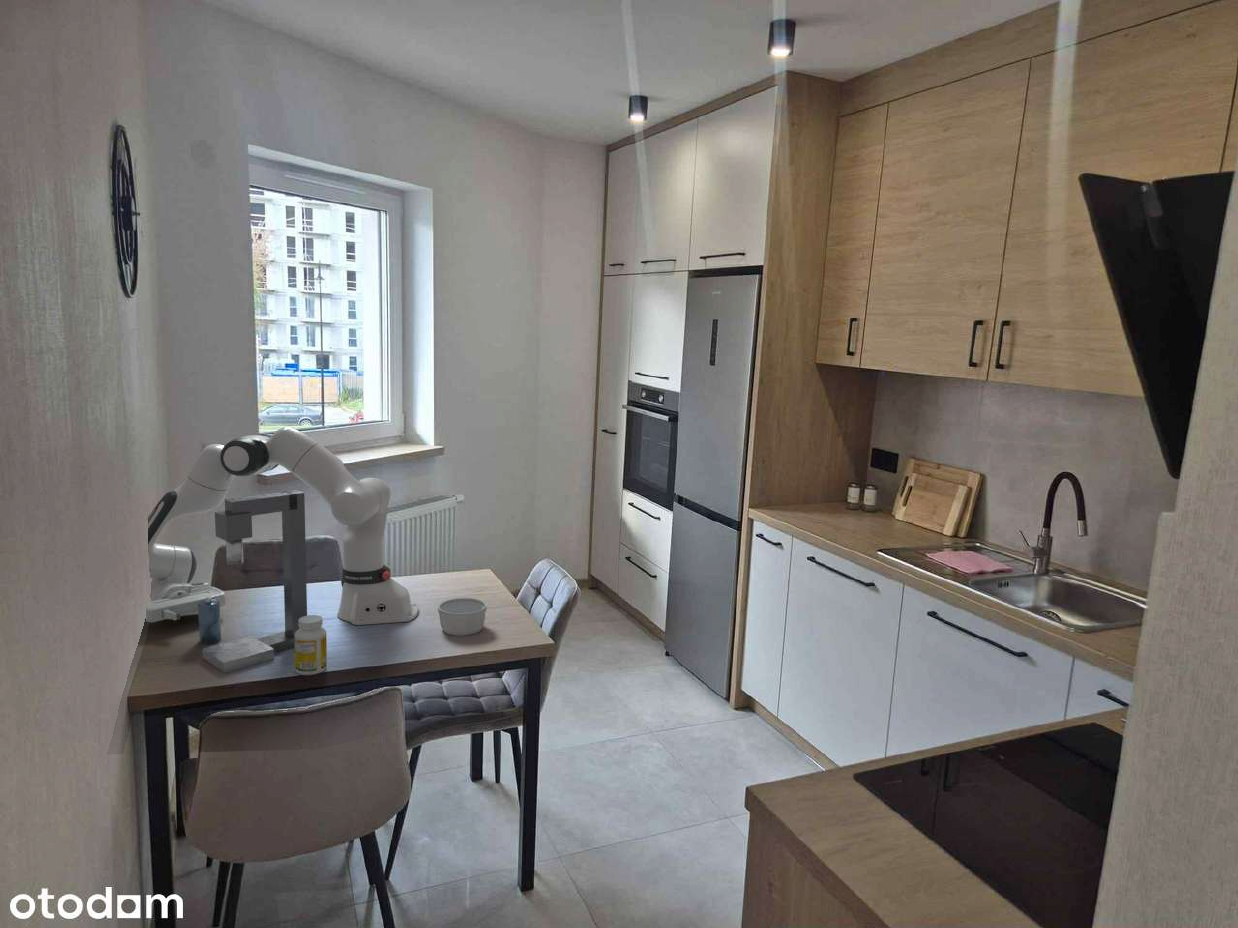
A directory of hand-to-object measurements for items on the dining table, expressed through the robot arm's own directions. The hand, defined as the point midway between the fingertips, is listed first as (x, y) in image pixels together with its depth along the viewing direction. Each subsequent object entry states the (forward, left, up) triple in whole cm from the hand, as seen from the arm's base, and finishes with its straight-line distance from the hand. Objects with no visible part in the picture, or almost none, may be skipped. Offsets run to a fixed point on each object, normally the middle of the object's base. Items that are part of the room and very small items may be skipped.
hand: (196, 612), depth 207 cm
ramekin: (-69, -1, -6) cm, 70 cm away
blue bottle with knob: (-6, +6, -5) cm, 10 cm away
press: (-21, +14, -5) cm, 25 cm away
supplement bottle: (-35, +25, -6) cm, 44 cm away
